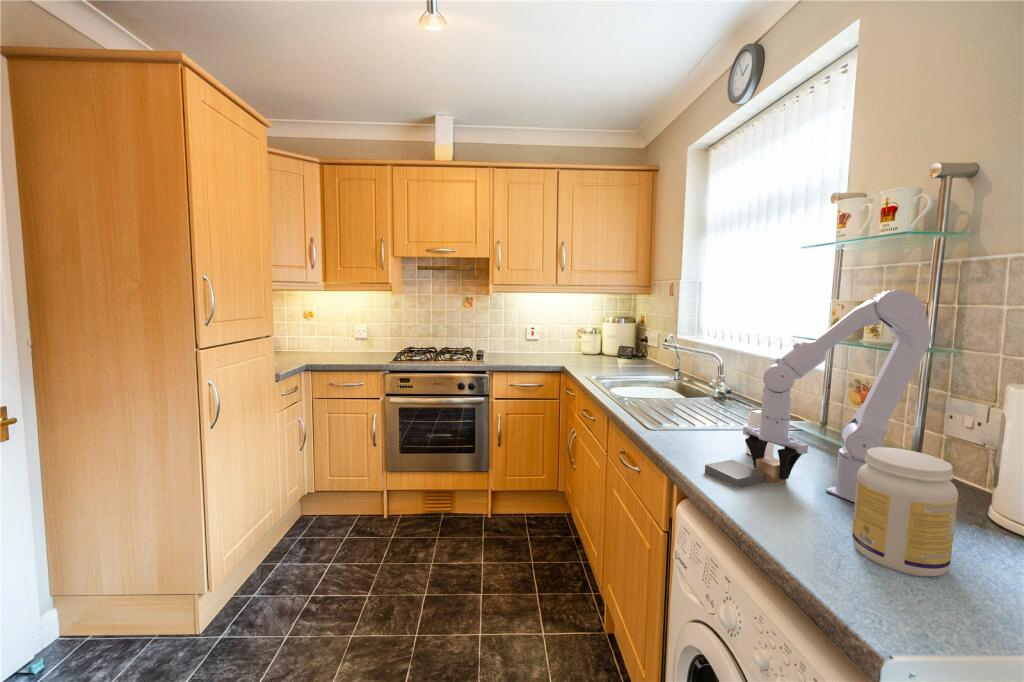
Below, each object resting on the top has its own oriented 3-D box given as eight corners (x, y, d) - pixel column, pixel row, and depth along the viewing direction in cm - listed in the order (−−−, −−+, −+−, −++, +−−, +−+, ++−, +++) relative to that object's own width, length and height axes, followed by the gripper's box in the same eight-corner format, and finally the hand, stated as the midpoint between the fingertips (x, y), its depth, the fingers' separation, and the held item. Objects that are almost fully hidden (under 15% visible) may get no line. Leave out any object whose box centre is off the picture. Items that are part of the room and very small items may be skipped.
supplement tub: (946, 555, 73) (958, 457, 71) (952, 592, 63) (966, 480, 62) (853, 528, 81) (862, 440, 79) (847, 557, 72) (856, 458, 70)
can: (766, 451, 121) (769, 408, 119) (778, 459, 114) (781, 415, 113) (741, 449, 121) (744, 407, 120) (752, 458, 115) (755, 414, 114)
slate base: (764, 481, 101) (765, 473, 100) (737, 488, 97) (737, 479, 97) (731, 467, 109) (732, 459, 109) (704, 472, 105) (705, 464, 105)
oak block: (786, 481, 101) (787, 463, 100) (772, 485, 99) (774, 465, 99) (768, 474, 105) (769, 456, 105) (754, 477, 103) (756, 459, 103)
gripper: (735, 410, 106) (731, 464, 107) (794, 427, 92) (789, 488, 94) (756, 407, 108) (752, 460, 110) (816, 423, 95) (810, 483, 97)
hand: (770, 473), depth 102 cm, fingers open, 6 cm apart
